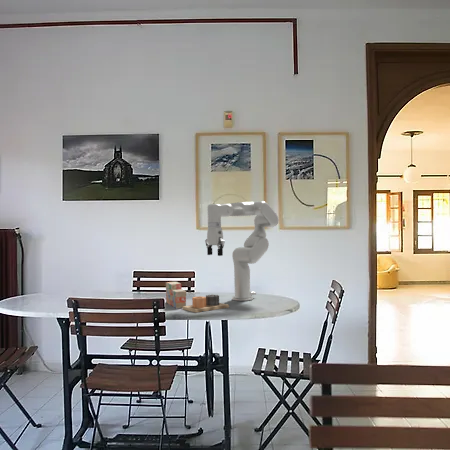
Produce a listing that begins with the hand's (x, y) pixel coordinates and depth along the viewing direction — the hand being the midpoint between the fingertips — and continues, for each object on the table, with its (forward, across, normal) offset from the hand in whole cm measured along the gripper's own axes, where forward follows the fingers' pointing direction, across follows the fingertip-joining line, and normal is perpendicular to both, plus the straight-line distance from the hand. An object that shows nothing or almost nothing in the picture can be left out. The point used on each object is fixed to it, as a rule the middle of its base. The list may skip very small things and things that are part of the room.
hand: (215, 255), depth 276 cm
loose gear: (+26, -7, +17) cm, 32 cm away
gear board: (+28, -7, +12) cm, 31 cm away
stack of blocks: (+28, +14, +18) cm, 37 cm away
